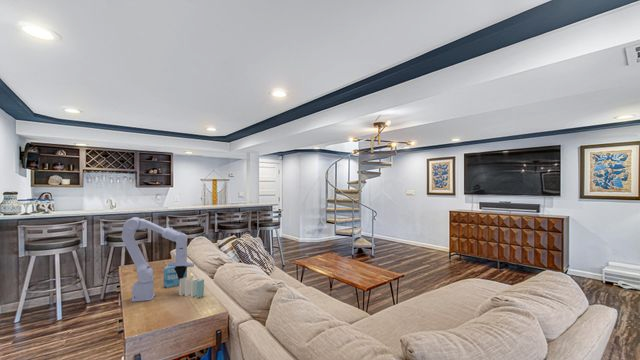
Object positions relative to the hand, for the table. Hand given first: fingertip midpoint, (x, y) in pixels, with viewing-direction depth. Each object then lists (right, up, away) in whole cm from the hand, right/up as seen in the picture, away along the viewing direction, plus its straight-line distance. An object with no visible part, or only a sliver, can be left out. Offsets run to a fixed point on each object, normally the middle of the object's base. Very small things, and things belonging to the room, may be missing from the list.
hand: (180, 279), depth 158 cm
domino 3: (+9, -8, -3) cm, 13 cm away
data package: (-10, -9, +14) cm, 20 cm away
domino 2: (+5, -8, -2) cm, 10 cm away
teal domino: (+13, -8, -5) cm, 16 cm away
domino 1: (+1, -8, -1) cm, 8 cm away
